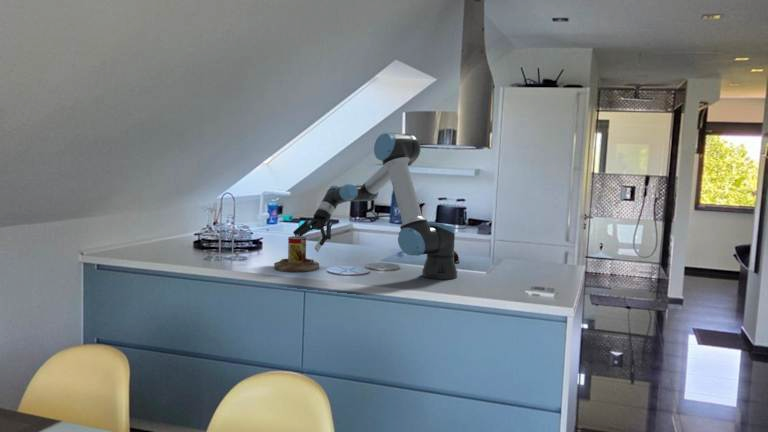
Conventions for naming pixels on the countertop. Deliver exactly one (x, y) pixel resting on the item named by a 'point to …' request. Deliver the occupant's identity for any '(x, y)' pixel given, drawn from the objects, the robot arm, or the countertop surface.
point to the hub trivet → (296, 266)
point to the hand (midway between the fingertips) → (304, 248)
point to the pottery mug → (456, 257)
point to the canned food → (296, 249)
